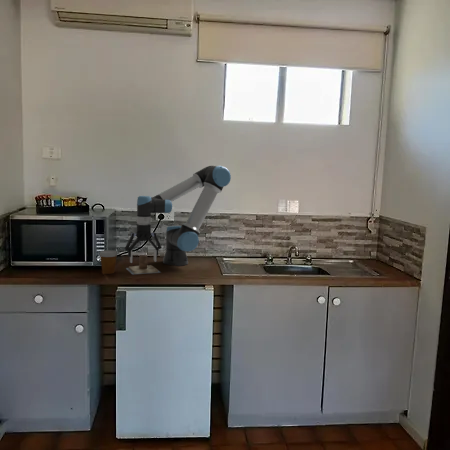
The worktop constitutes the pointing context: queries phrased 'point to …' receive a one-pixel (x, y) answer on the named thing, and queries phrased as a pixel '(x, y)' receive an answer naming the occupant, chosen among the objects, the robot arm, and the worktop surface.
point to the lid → (143, 266)
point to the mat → (140, 273)
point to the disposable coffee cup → (108, 261)
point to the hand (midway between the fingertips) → (143, 261)
